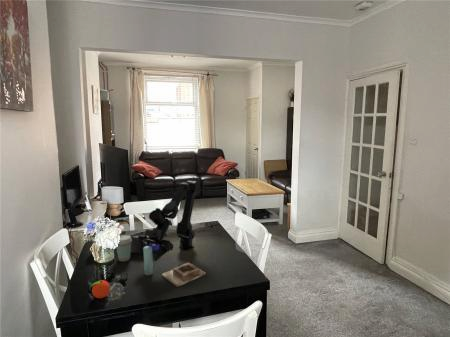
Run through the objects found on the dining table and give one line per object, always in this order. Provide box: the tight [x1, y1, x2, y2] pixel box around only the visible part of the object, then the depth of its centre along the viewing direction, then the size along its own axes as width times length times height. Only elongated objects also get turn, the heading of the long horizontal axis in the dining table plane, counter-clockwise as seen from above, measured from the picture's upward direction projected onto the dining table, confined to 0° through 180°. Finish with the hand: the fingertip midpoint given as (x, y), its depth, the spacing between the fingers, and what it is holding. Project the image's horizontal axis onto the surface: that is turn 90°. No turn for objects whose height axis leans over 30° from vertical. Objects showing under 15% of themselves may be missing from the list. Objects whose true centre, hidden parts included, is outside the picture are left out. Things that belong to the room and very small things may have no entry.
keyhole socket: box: [161, 262, 207, 288], centre depth 140 cm, size 16×13×4 cm
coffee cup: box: [116, 234, 132, 262], centre depth 156 cm, size 8×8×12 cm
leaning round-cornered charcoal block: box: [131, 235, 159, 255], centre depth 164 cm, size 16×5×9 cm, turn 98°
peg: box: [143, 246, 154, 276], centre depth 141 cm, size 4×4×13 cm
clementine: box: [89, 279, 111, 299], centre depth 122 cm, size 8×7×7 cm
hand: (147, 259), depth 140 cm, fingers open, 9 cm apart
